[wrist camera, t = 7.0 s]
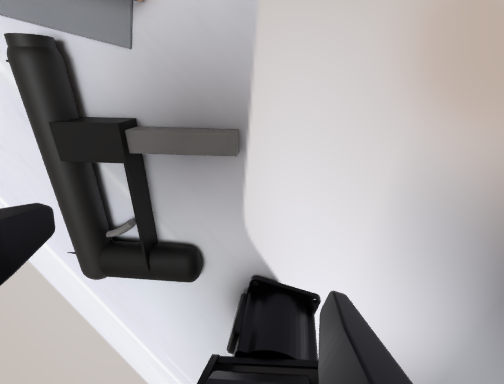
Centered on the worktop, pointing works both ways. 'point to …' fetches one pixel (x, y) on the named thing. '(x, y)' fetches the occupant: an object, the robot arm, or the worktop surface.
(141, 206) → the door handle
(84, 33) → the mat
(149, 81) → the worktop surface
